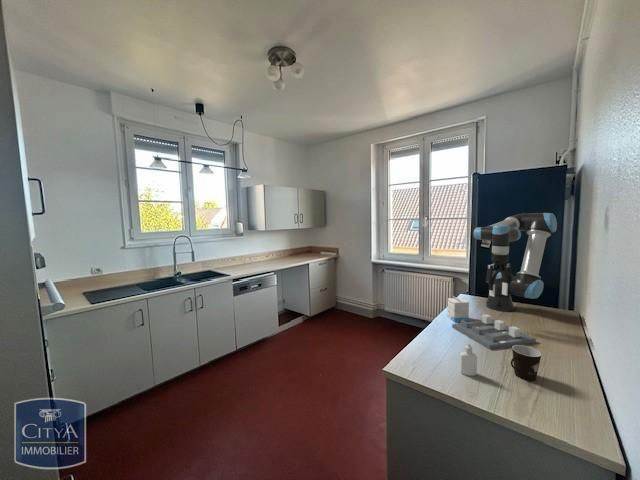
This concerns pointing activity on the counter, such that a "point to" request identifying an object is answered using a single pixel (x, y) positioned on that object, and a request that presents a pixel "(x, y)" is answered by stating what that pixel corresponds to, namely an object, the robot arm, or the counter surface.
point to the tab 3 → (514, 332)
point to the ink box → (458, 309)
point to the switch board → (491, 334)
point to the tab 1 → (486, 319)
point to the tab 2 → (499, 325)
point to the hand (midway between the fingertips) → (498, 295)
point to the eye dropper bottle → (468, 362)
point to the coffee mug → (525, 362)
